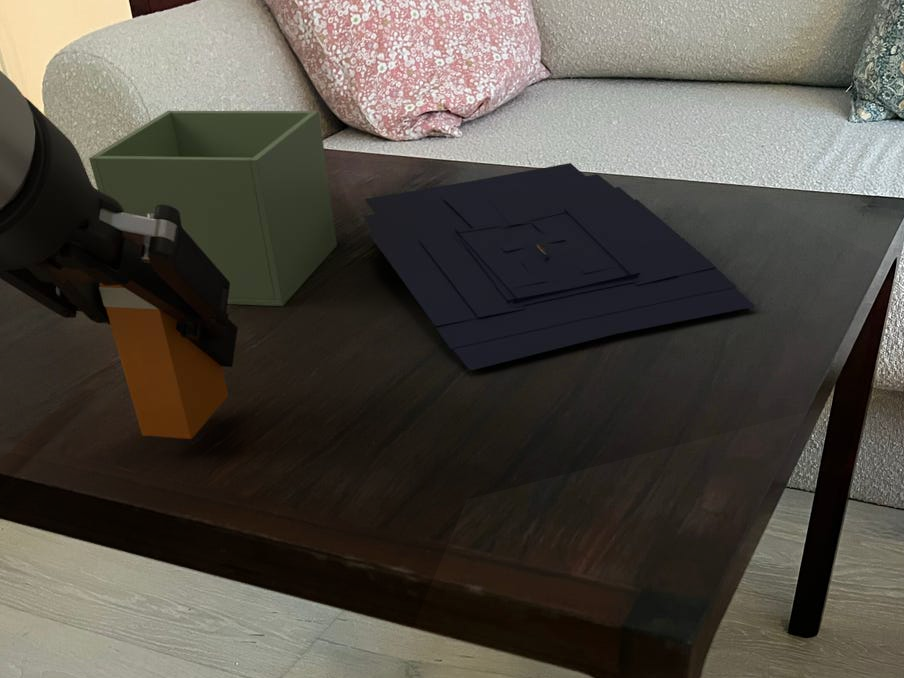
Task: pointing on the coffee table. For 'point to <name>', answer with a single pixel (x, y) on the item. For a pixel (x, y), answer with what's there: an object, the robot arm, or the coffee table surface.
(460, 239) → the folded navy cloth
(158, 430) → the block
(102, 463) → the coffee table surface
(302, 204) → the bin
